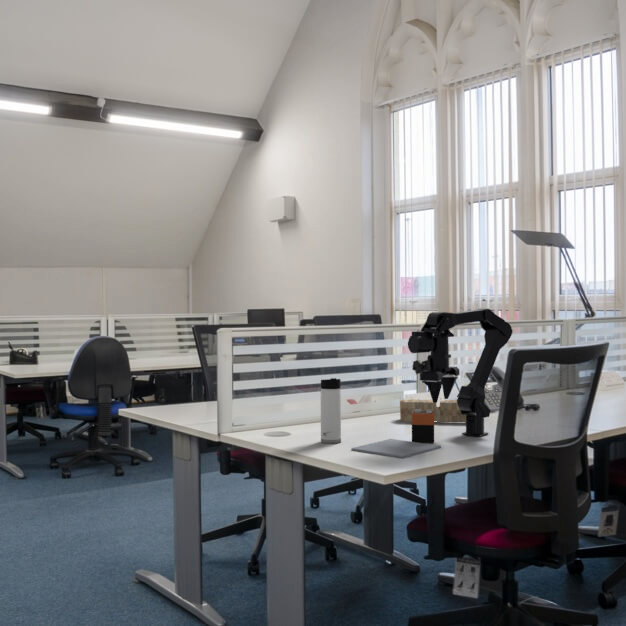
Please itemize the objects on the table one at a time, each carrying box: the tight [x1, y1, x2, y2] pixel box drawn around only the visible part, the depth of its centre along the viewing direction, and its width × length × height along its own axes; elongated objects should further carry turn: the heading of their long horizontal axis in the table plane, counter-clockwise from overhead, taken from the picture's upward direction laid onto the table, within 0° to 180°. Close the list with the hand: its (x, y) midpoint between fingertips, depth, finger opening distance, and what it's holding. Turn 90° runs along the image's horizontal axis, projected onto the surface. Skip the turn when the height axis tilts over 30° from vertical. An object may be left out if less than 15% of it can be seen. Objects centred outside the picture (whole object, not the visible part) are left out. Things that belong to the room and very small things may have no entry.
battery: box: [411, 409, 435, 444], centre depth 226 cm, size 4×7×10 cm, turn 80°
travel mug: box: [320, 377, 342, 445], centre depth 227 cm, size 6×7×20 cm
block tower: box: [399, 398, 466, 423], centre depth 268 cm, size 8×8×29 cm
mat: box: [351, 438, 442, 459], centre depth 215 cm, size 20×18×1 cm
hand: (440, 400), depth 232 cm, fingers open, 9 cm apart
